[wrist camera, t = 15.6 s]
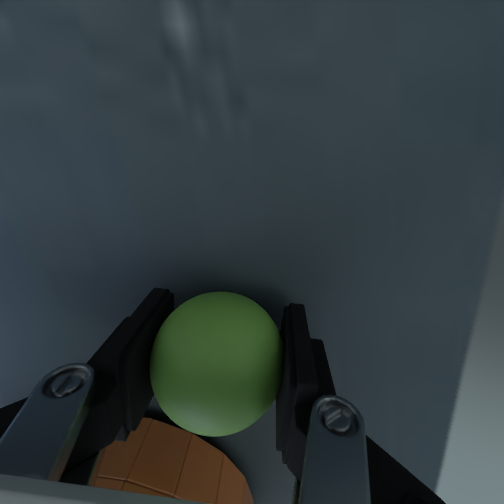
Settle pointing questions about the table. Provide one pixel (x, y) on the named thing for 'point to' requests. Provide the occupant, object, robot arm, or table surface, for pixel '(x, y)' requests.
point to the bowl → (172, 467)
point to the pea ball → (217, 364)
